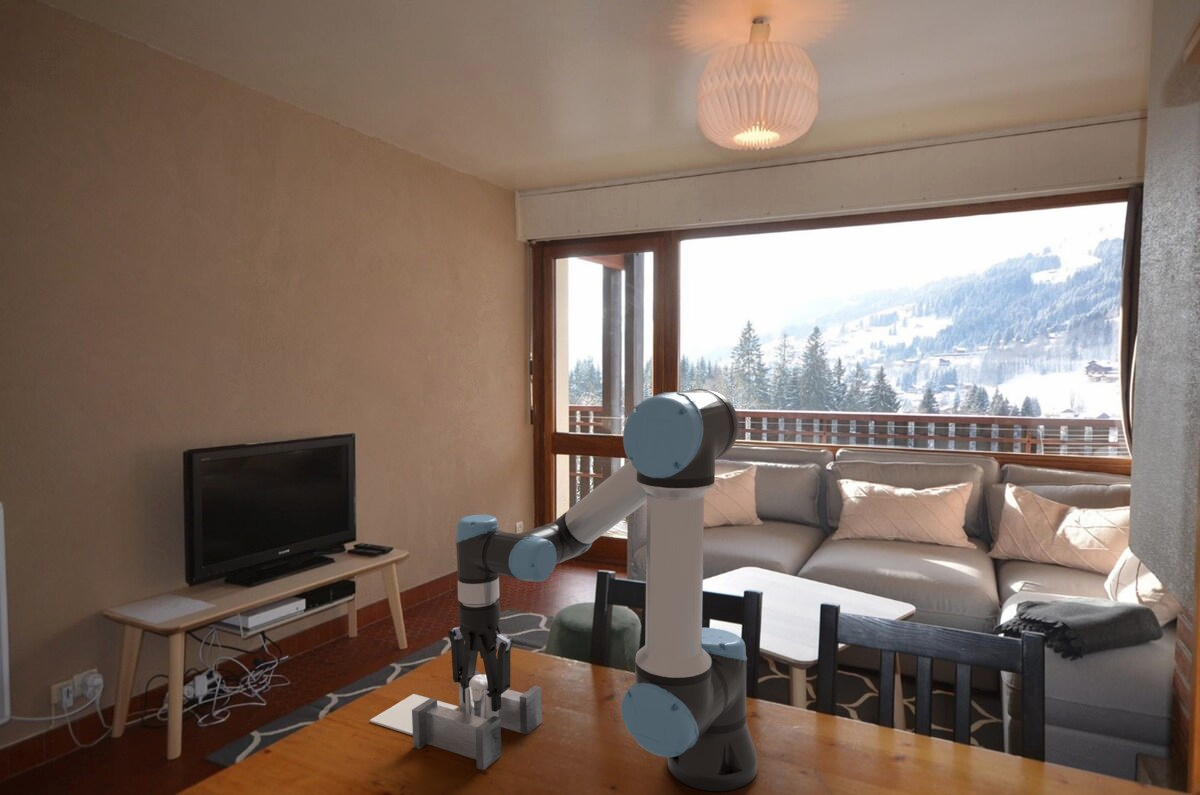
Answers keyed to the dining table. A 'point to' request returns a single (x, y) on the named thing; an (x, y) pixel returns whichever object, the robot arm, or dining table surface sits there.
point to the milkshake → (478, 695)
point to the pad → (404, 714)
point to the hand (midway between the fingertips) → (482, 722)
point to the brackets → (475, 725)
